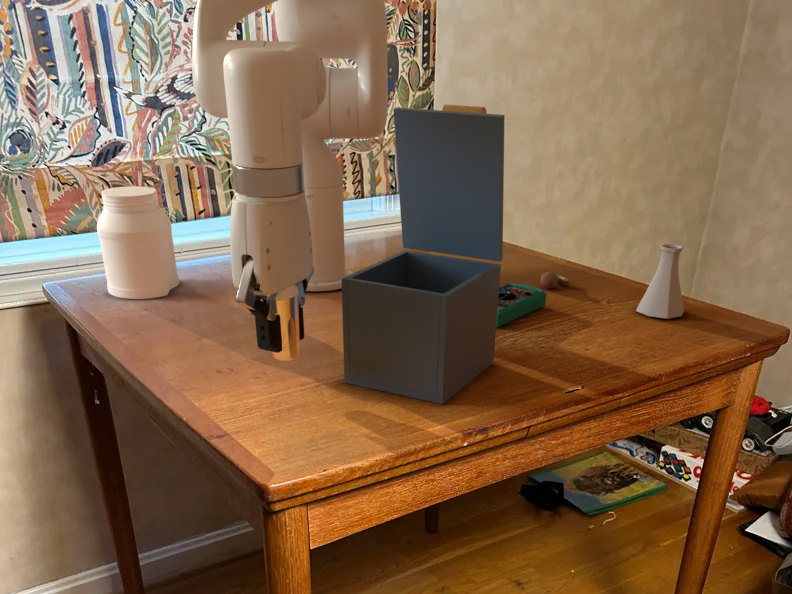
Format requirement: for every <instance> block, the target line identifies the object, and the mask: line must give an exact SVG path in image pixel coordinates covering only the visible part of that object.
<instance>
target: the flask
mask: <svg viewBox="0 0 792 594" xmlns="http://www.w3.org/2000/svg"><path fill="white" fill-rule="evenodd" d="M659 248H660V251H661V253H660V254H661V255H660V258H659V259H660V260H659V262H658V265H657V268H656V271H655V273H654V275H653V277H652V279H651V281H650V283H649V285H648V287H647V288H646V290H645V292H644V295H643V296H642V298H641V300H640V302H639V304H638V305H637V307H636V309H635V312H638V313H639V314H642V315H645V316H646V317H647V316H648V317H653V318H660V319H667V320H668V319H673V318H678V317H682V316H683V314H684V312H685V306H684V301H683V295H682V290H681V281H680V275H679V274H680V273H679V264H680V263H679V260H680V256H681V253H682V251H683V249H684V246H683V245H680V244H679V245H678V244H674V243H673V244H672V243H665V244H661V246H660V247H659Z"/></svg>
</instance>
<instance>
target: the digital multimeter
mask: <svg viewBox="0 0 792 594" xmlns="http://www.w3.org/2000/svg"><path fill="white" fill-rule="evenodd" d="M546 301H547V292H545V291H544V290H542V289H541V288H538V287H535V286H531V285H527V284H523V283H514V282H509V283H506V284H504V285H502V286H499V297H498V310H497V323H496V329H498V328H501V327H502V326H505V325H507V324H509V323H511V322H513V321H516V320H518V319H520V318H522V317H524V316H526V315H528V314H531V313H533V312H535V311H538V310H539V309H542V308H543V307H544V306H545V305H546V303H547V302H546Z"/></svg>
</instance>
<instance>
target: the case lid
mask: <svg viewBox="0 0 792 594" xmlns="http://www.w3.org/2000/svg"><path fill="white" fill-rule="evenodd" d="M487 112H488V111H487V108H486V107H485V106H474V105H460V104H444V105H443V106H442V109H441V110H439V109H427V108H425V109H424V108H411V107H394V108H393V123H394V136H395V137H394V138H395V149H396V150H395V153H396V163H397V164H396V167H397V168H396V169H397V182H398V195H399V196H398V197H399V208H400V211H399V212H400V227H401V239H402V248H403V249H410V250H415V251H424V252H429V253H437V254H446V255H451V256H452V255H453V256H458V257H467V258H472V259H473V258H474V259H479V260H480V259H481V260H486V261H492V262H493V261H494V262H502V260H503V257H504V254H503V251H504V250H503V247H504V245H503V244H504V184H505V183H504V179H505V178H504V176H505V175H504V174H505V169H504V168H505V118H506V117H505V114H496V113H487Z"/></svg>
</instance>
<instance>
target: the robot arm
mask: <svg viewBox="0 0 792 594" xmlns="http://www.w3.org/2000/svg"><path fill="white" fill-rule="evenodd" d="M272 4H273V13H274V23H275V30H276V35H277V36H276V37H277V40H249V39H248V40H246V39H241V40H240V39H226V38H227V36H228V35H229V33H230V32H231V30H232V29H233V28H234V27H235V26H236V25H237V24H238V23H239V22H240V21H242V20H243V19H244V18H246V17H247V16H249V15H251V14H253V13H254V12H257V11H259V10H261V9H263V8H265V7H267V6H270V5H272ZM387 20H388V17H387V9H386V3H385V0H197V3H196V5H195V11H194V15H193V31H192V48H191V58H192V59H191V72H192V84H193V85H192V86H193V91H194V94H195V98H196V99H197V102H198V103H199V104H198V105H200V107H201V108H202V110H203V111H204V112H206V113H207V114H208V115H209V116H212V117H215V118H219V119H227V122H228V131H229V132H228V133H229V143H230V153H231V162H232V163H231V164H232V173H233V184H234V194H235V197H234V198H232V201H231V209H230V222H229V223H230V226H229V228H230V229H229V231H230V232H229V235H230V237H229V239H230V240H229V241H230V263H231V277H232V283H233V287H234V288H235V289H236V290H237V292H236V297H235V302H236V303H237V304H238V305H240V306H242V307H244V308H246V309H247V311H249V312H250V315H251V318H254V322H255V332H256V333H255V334H256V342H257V343H256V344H257V348H259V350H262V351H268V352H271V353H272V352H276V353H279V352H281V351H282V338H281V324H280V319H277V318H276V309H277V304H276V295H277V292H279V291H281V290H283V289H285V288H286V287H288V286H290V285H293V284H295V285H296V286H297V288H298V297H299V338H300V341H302V340H304V339H305V322H304V321H305V320H304V306H305V305H306V295H305V294H306V292H330V291H331V292H332V291H338V290H342V278H344V277H347V276H349V275H351V274H353V273H354V272H353V271H351V270H350V269H347V268H346V258H345V253H346V252H345V251H346V250H345V219H344V218H345V217H344V216H345V215H344V178H343V177H344V176H343V175H344V174H343V169H342V165H341V162H340V161H339V159H338V158H337V156H336V154H335V153H334V152H333V151H332V150H331V148H330V147H329V146H328V144H327V142H326V140H334V139H338V140H340V139H341V140H342V139H343V140H369V139H370V140H371V139H375V138H378V137H379V136H381V135H382V134H383V133H384V131H385V129H386V126H387V123H388V122H387V121H388V112H389V111H388V110H389V109H388V108H389V87H388V84H389V81H388V79H389V76H388V25H387V24H388V21H387ZM322 59H327V60H329V59H330V60H331V59H333V60H334V59H335V60H337V59H338V60H351V61H352V62H353V63H354V64H355V65H356V67H331V66H325V65H324V62H323V61H322ZM261 296H262V297H267V306H266V305H265V303H264V302H263V301H261Z"/></svg>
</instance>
